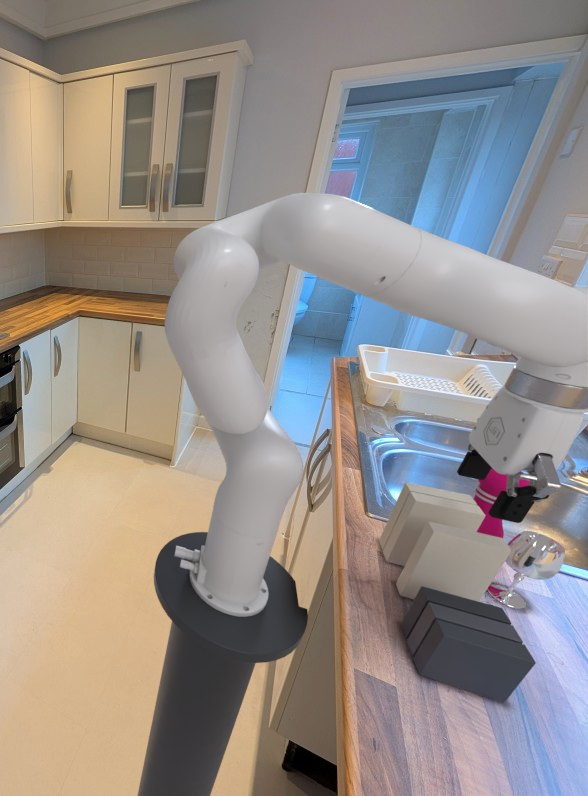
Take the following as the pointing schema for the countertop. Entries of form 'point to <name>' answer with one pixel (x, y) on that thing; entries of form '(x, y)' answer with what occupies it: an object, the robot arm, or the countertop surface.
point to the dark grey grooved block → (465, 644)
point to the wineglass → (529, 564)
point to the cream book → (453, 562)
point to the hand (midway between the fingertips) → (485, 496)
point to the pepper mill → (492, 500)
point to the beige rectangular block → (425, 518)
